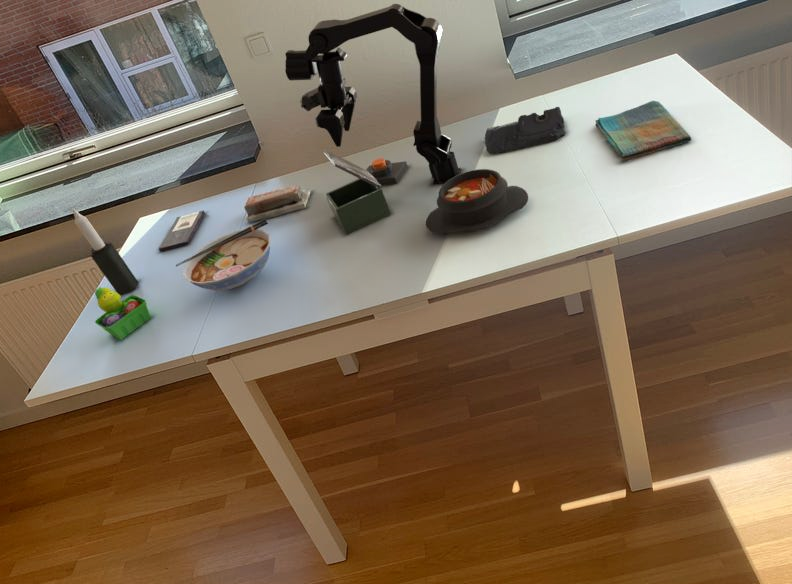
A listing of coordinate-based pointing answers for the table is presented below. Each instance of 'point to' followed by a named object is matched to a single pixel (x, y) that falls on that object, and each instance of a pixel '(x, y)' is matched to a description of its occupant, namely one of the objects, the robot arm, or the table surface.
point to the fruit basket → (120, 312)
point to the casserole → (474, 202)
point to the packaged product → (276, 203)
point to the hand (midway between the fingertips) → (342, 138)
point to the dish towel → (642, 130)
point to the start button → (379, 164)
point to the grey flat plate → (351, 168)
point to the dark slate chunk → (525, 132)
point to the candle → (107, 258)
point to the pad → (388, 172)
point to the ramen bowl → (229, 259)
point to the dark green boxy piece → (357, 205)
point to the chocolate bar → (182, 231)
